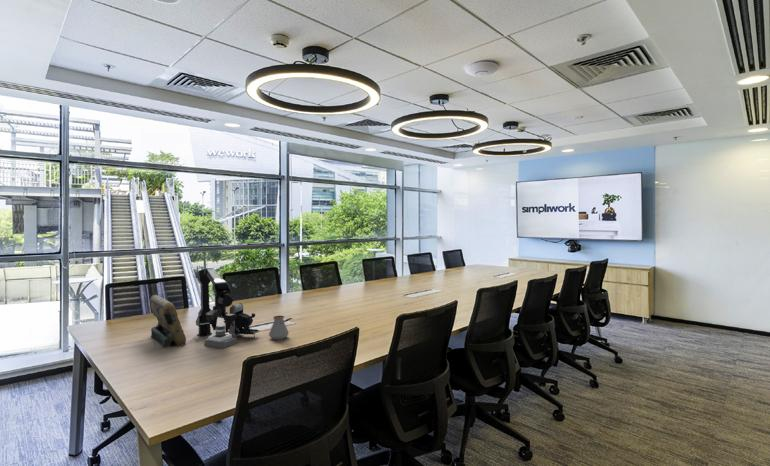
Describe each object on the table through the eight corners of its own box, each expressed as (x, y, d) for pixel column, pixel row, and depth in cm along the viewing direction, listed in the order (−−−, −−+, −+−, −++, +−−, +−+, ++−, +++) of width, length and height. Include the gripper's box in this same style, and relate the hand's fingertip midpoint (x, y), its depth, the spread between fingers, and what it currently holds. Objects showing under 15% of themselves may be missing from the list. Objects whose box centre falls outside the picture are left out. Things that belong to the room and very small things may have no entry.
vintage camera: (251, 341, 231) (253, 307, 231) (227, 338, 234) (229, 305, 234) (260, 336, 241) (261, 304, 240) (237, 334, 244) (238, 302, 243)
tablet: (191, 343, 225) (191, 299, 225) (165, 349, 215) (165, 303, 214) (169, 332, 247) (169, 292, 246) (144, 337, 237) (144, 295, 236)
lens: (213, 339, 223) (213, 326, 223) (220, 337, 228) (220, 324, 227) (220, 340, 221) (220, 327, 221) (227, 338, 226) (227, 325, 225)
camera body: (204, 345, 222) (204, 336, 222) (217, 340, 232) (217, 331, 231) (223, 348, 217) (223, 339, 217) (236, 343, 226) (236, 334, 226)
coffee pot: (265, 337, 237) (265, 312, 237) (283, 334, 245) (283, 310, 244) (282, 346, 221) (282, 319, 221) (300, 342, 229) (300, 316, 229)
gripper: (196, 305, 220) (196, 333, 220) (222, 308, 212) (222, 337, 213) (212, 301, 230) (212, 328, 230) (237, 304, 223) (237, 331, 223)
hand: (220, 331), depth 224 cm, fingers open, 9 cm apart
